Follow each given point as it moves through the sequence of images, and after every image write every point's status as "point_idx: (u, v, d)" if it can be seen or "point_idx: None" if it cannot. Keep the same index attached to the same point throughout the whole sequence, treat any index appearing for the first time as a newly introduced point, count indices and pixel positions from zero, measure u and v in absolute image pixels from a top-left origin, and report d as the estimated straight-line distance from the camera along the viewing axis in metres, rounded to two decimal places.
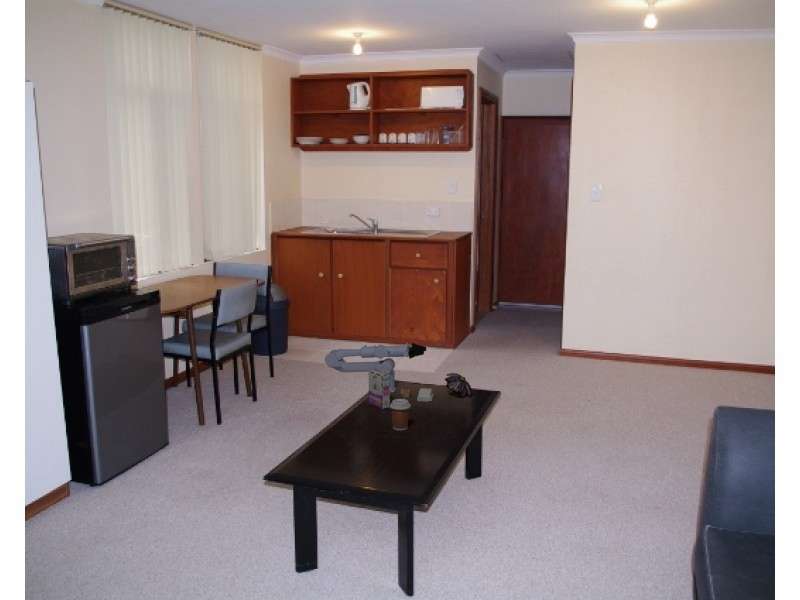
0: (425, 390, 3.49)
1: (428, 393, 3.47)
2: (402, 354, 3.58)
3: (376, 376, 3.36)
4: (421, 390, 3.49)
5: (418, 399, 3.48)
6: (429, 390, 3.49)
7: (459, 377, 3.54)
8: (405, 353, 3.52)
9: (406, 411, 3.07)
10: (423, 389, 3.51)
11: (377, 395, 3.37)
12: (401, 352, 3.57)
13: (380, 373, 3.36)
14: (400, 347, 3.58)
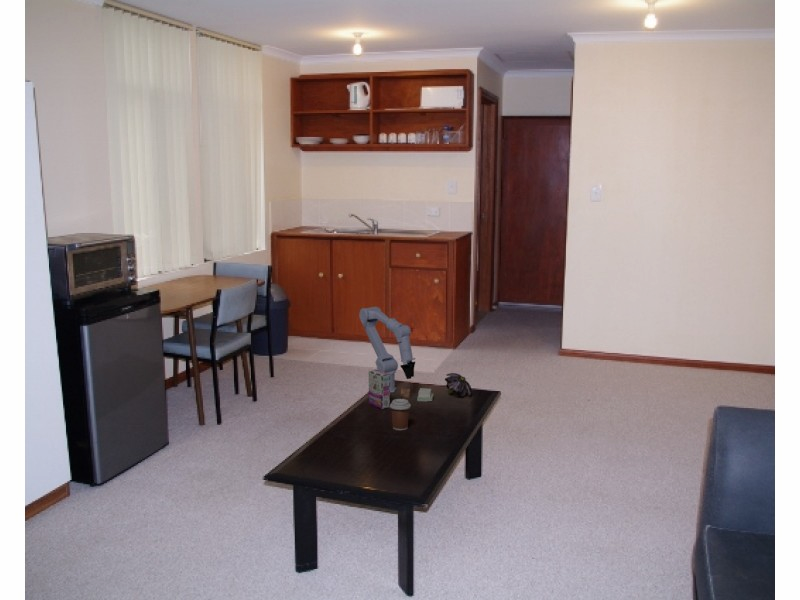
0: (425, 390, 3.50)
1: (428, 393, 3.47)
2: (403, 356, 3.49)
3: (376, 376, 3.36)
4: (421, 390, 3.50)
5: (418, 399, 3.48)
6: (429, 390, 3.49)
7: (458, 377, 3.54)
8: (405, 361, 3.44)
9: (406, 411, 3.07)
10: (423, 389, 3.51)
11: (377, 395, 3.37)
12: (405, 355, 3.48)
13: (380, 373, 3.36)
14: (410, 353, 3.49)
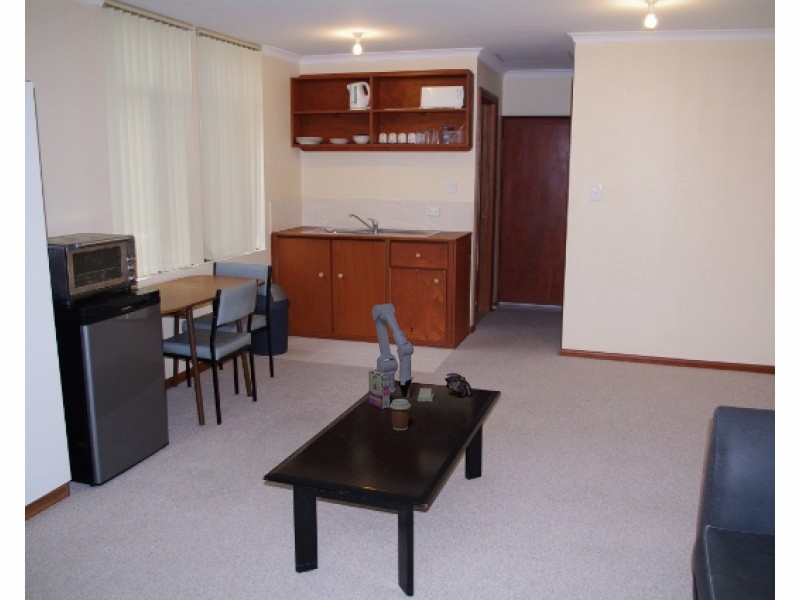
0: (425, 390, 3.50)
1: (429, 393, 3.47)
2: (402, 374, 3.48)
3: (376, 376, 3.36)
4: (421, 390, 3.50)
5: (418, 399, 3.47)
6: (430, 390, 3.49)
7: (459, 377, 3.54)
8: (403, 382, 3.44)
9: (406, 411, 3.07)
10: (423, 389, 3.51)
11: (377, 395, 3.37)
12: (404, 374, 3.48)
13: (380, 373, 3.36)
14: (409, 372, 3.48)
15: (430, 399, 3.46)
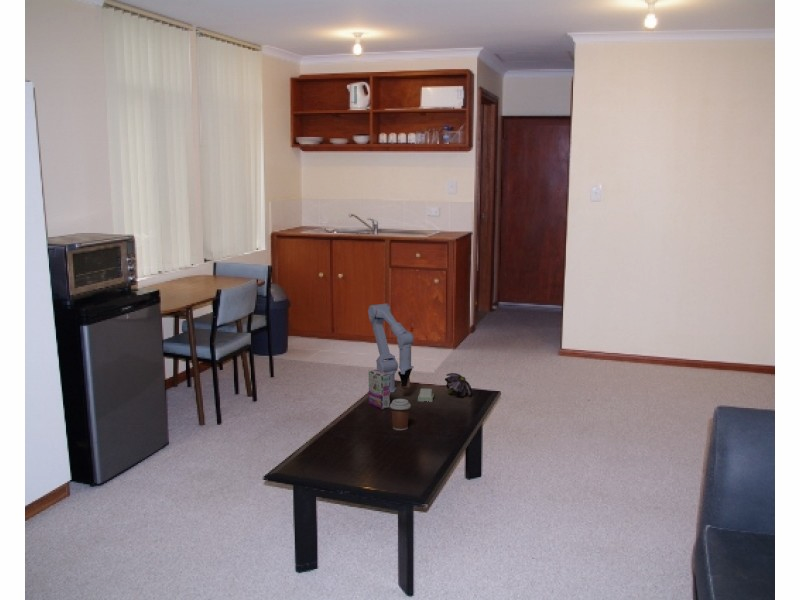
0: (426, 390, 3.49)
1: (429, 393, 3.47)
2: (402, 363, 3.47)
3: (376, 376, 3.36)
4: (422, 390, 3.49)
5: (418, 399, 3.47)
6: (430, 390, 3.49)
7: (459, 377, 3.54)
8: (403, 371, 3.43)
9: (406, 411, 3.07)
10: (423, 389, 3.51)
11: (377, 395, 3.37)
12: (404, 363, 3.47)
13: (380, 373, 3.36)
14: (409, 361, 3.47)
15: (430, 399, 3.46)
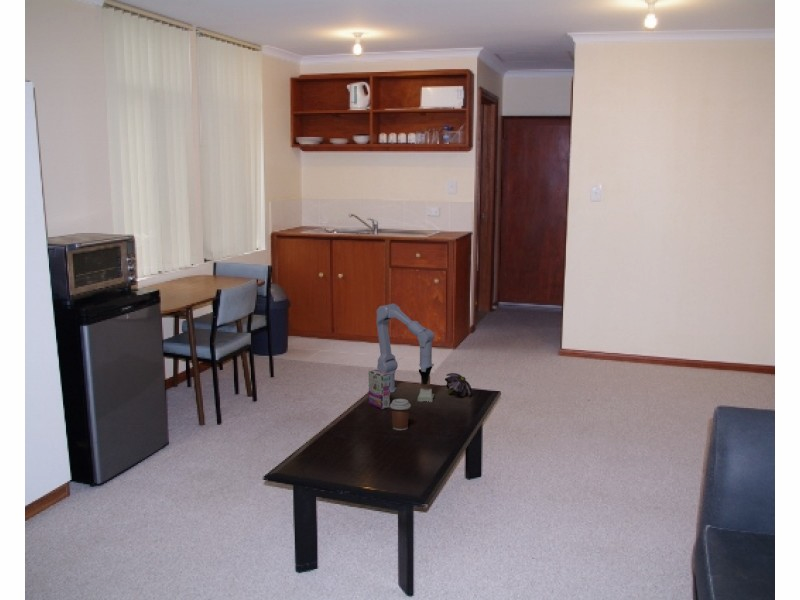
0: (426, 390, 3.50)
1: (429, 393, 3.47)
2: (422, 361, 3.45)
3: (376, 376, 3.36)
4: (422, 390, 3.49)
5: (418, 399, 3.47)
6: (430, 390, 3.49)
7: (459, 377, 3.54)
8: (424, 369, 3.41)
9: (406, 411, 3.07)
10: (423, 389, 3.51)
11: (377, 395, 3.37)
12: (424, 360, 3.45)
13: (380, 373, 3.36)
14: (429, 359, 3.45)
15: (430, 399, 3.46)
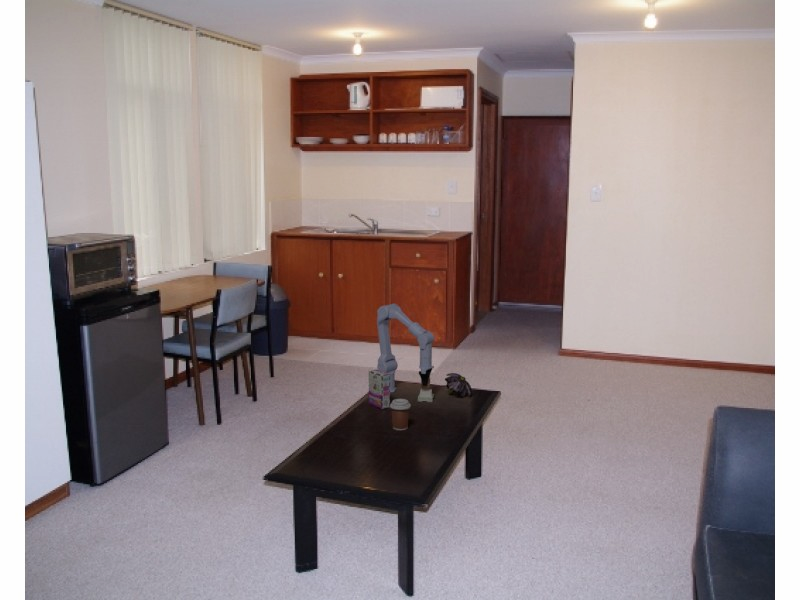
0: (426, 390, 3.49)
1: (429, 393, 3.47)
2: (422, 363, 3.45)
3: (376, 376, 3.36)
4: (422, 390, 3.49)
5: (418, 399, 3.47)
6: (430, 390, 3.49)
7: (459, 377, 3.54)
8: (424, 371, 3.41)
9: (406, 411, 3.07)
10: (423, 389, 3.51)
11: (377, 395, 3.37)
12: (424, 362, 3.45)
13: (380, 373, 3.36)
14: (429, 361, 3.45)
15: (430, 399, 3.46)
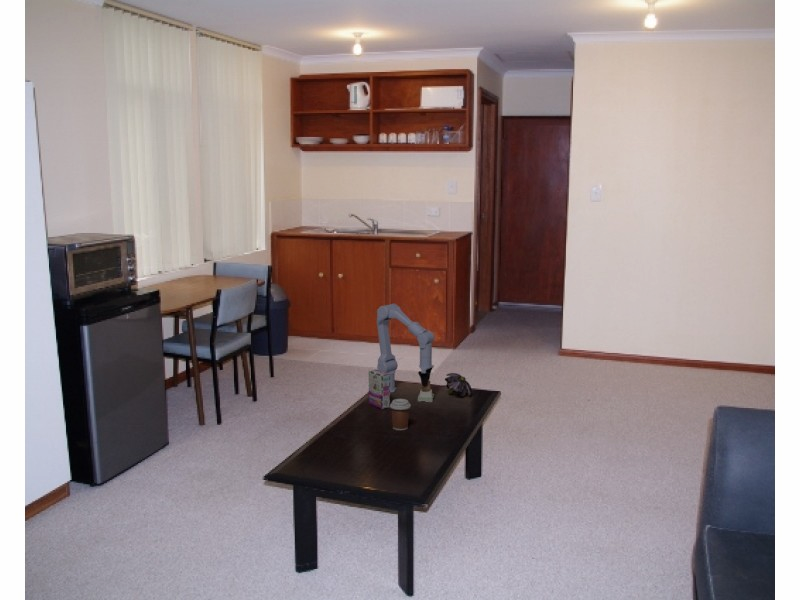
0: None
1: (429, 393, 3.46)
2: (422, 362, 3.45)
3: (376, 376, 3.36)
4: (422, 391, 3.49)
5: (418, 399, 3.47)
6: (430, 390, 3.49)
7: (459, 377, 3.54)
8: (424, 370, 3.41)
9: (406, 411, 3.07)
10: None
11: (377, 395, 3.37)
12: (424, 362, 3.45)
13: (380, 373, 3.36)
14: (429, 360, 3.45)
15: (430, 399, 3.46)
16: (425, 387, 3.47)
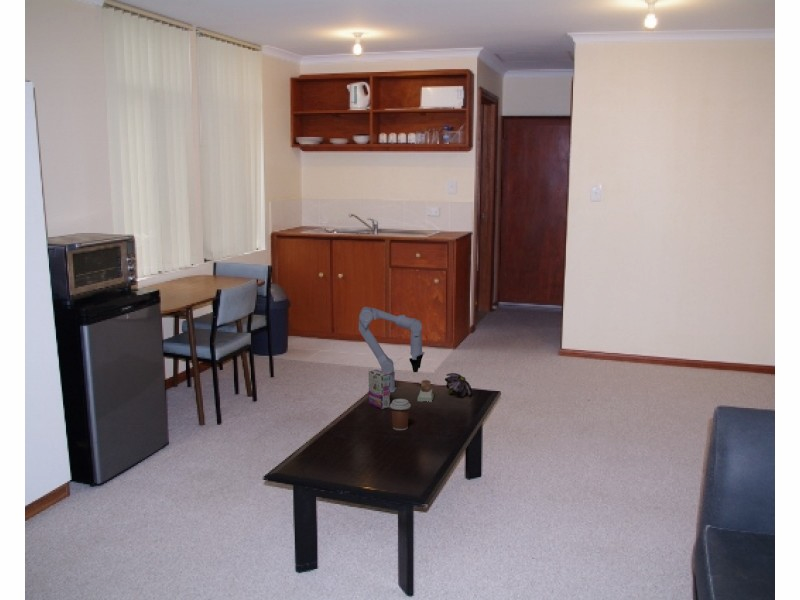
0: None
1: (429, 393, 3.47)
2: (413, 349, 3.60)
3: (376, 376, 3.36)
4: None
5: (418, 399, 3.47)
6: (430, 391, 3.49)
7: (458, 377, 3.54)
8: (415, 357, 3.55)
9: (406, 411, 3.07)
10: None
11: (377, 395, 3.37)
12: (415, 349, 3.59)
13: (380, 373, 3.36)
14: (420, 347, 3.60)
15: (430, 399, 3.46)
16: (425, 387, 3.47)
